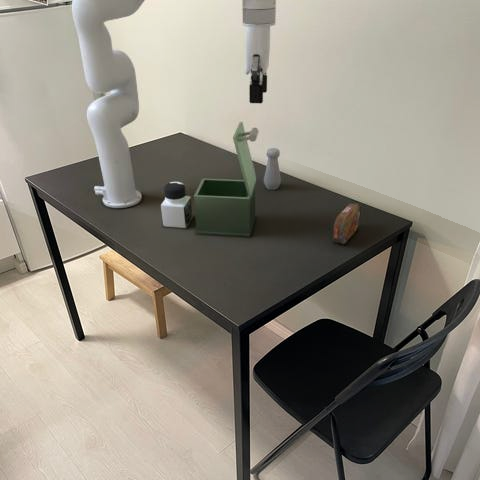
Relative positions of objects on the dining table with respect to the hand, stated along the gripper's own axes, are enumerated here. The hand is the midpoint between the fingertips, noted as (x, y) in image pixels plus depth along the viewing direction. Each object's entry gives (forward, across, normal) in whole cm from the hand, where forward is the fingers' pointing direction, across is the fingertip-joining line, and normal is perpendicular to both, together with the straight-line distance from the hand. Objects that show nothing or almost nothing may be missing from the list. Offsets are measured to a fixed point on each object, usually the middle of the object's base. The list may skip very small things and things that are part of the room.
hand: (258, 97), depth 121 cm
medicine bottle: (+36, 0, -24) cm, 44 cm away
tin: (+36, +3, +26) cm, 44 cm away
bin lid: (+16, 0, -4) cm, 16 cm away
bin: (+36, 0, -9) cm, 37 cm away
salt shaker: (+36, -28, +2) cm, 46 cm away
